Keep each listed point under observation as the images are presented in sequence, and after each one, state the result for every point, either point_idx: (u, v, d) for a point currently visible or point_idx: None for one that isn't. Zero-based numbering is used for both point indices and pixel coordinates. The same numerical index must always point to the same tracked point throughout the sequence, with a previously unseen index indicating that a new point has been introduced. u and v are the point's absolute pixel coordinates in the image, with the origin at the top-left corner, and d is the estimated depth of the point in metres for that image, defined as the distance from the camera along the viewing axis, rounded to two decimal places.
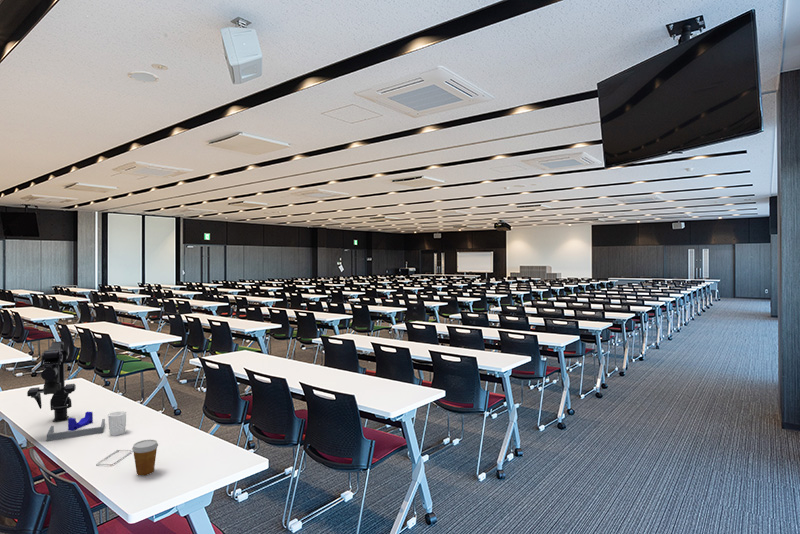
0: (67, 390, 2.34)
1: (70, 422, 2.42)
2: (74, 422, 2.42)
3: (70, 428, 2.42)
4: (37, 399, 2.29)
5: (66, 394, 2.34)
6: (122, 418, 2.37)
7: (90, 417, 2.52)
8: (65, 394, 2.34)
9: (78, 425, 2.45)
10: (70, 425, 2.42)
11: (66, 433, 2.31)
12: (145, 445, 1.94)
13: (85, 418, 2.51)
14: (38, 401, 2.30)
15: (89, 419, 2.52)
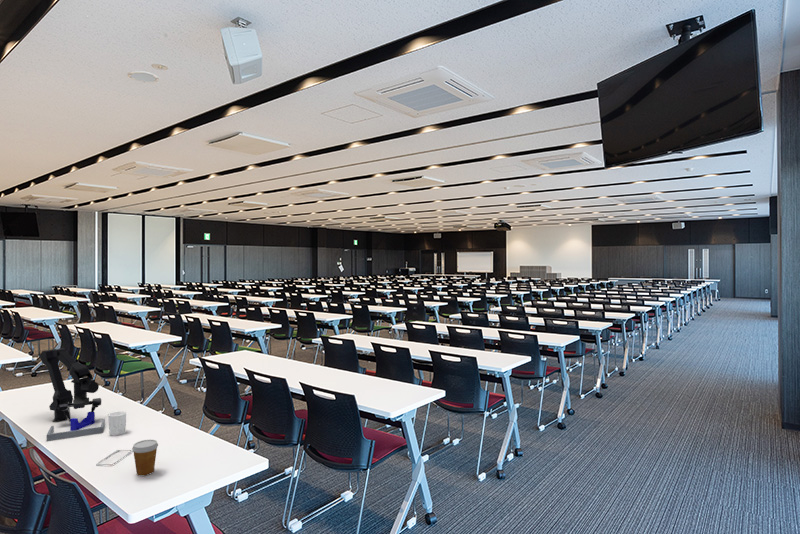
0: (94, 404, 2.53)
1: (72, 422, 2.42)
2: (76, 422, 2.42)
3: (73, 428, 2.42)
4: (67, 413, 2.49)
5: (93, 408, 2.54)
6: (122, 418, 2.37)
7: (92, 417, 2.52)
8: (92, 408, 2.53)
9: (80, 425, 2.44)
10: (72, 425, 2.42)
11: (66, 433, 2.31)
12: (145, 445, 1.94)
13: (87, 418, 2.51)
14: (68, 415, 2.49)
15: (91, 419, 2.51)
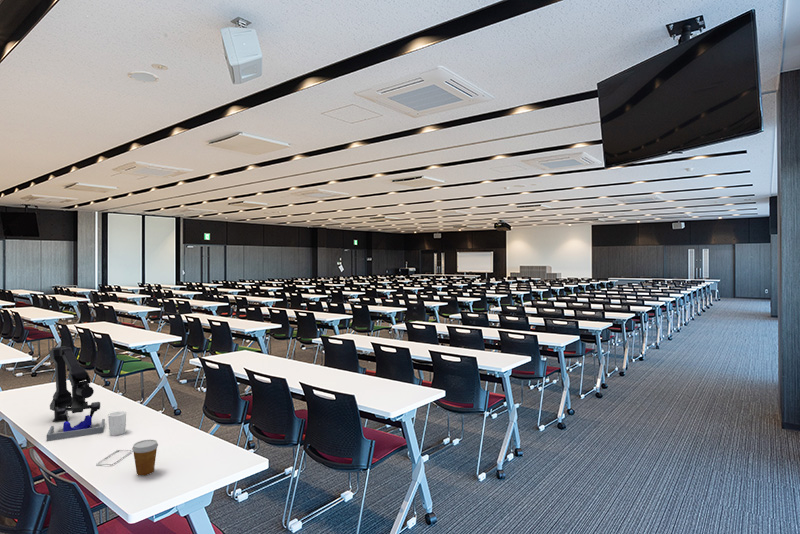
0: (93, 408, 2.46)
1: (64, 426, 2.36)
2: (68, 426, 2.36)
3: (65, 431, 2.36)
4: (65, 417, 2.42)
5: (92, 412, 2.47)
6: (122, 418, 2.37)
7: (88, 422, 2.44)
8: (91, 412, 2.46)
9: (73, 429, 2.38)
10: (64, 429, 2.36)
11: (66, 433, 2.31)
12: (145, 445, 1.94)
13: (84, 422, 2.44)
14: (66, 419, 2.42)
15: (87, 424, 2.44)
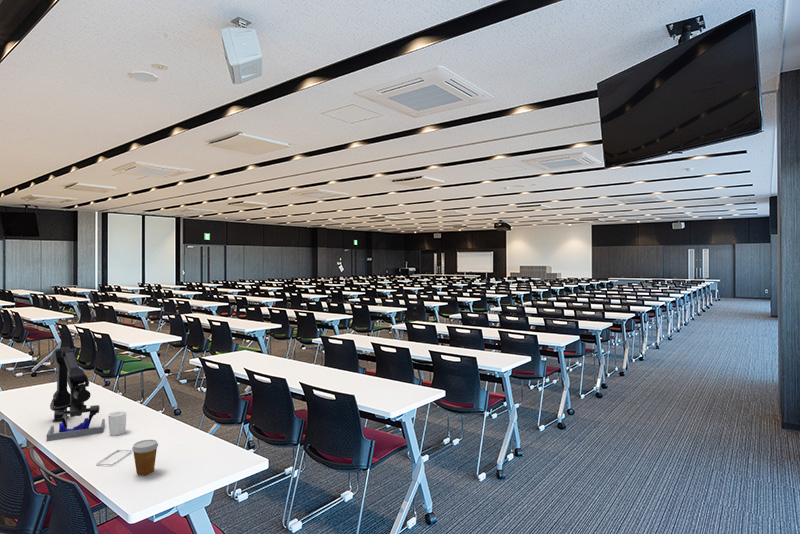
0: (92, 412, 2.41)
1: (59, 427, 2.33)
2: (62, 429, 2.33)
3: None
4: (63, 421, 2.36)
5: (91, 415, 2.41)
6: (122, 418, 2.37)
7: (85, 425, 2.39)
8: (90, 416, 2.41)
9: None
10: (59, 430, 2.33)
11: (66, 433, 2.31)
12: (145, 445, 1.94)
13: (82, 424, 2.40)
14: (64, 423, 2.37)
15: (84, 427, 2.39)
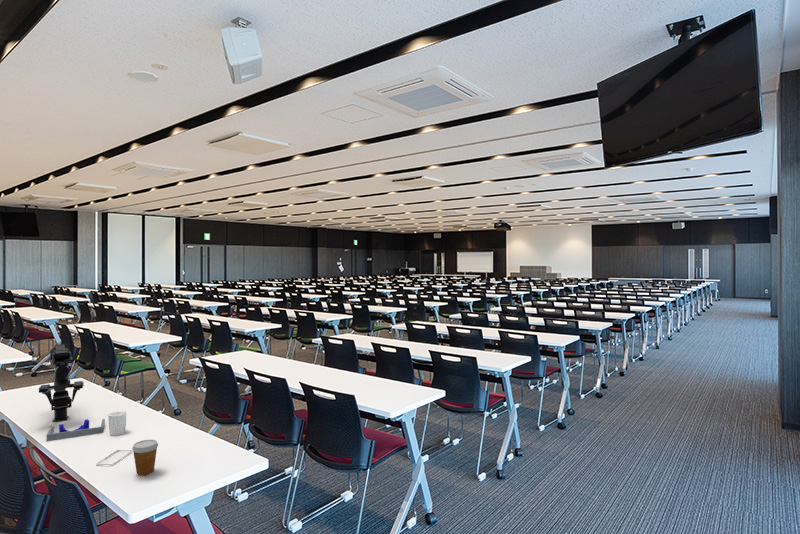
0: (76, 387, 2.49)
1: (59, 428, 2.33)
2: (62, 429, 2.32)
3: None
4: (48, 395, 2.44)
5: (75, 391, 2.49)
6: (122, 418, 2.37)
7: (85, 426, 2.39)
8: (74, 391, 2.49)
9: None
10: (59, 432, 2.33)
11: (66, 433, 2.31)
12: (145, 445, 1.94)
13: (82, 426, 2.40)
14: (49, 397, 2.45)
15: (84, 428, 2.39)
